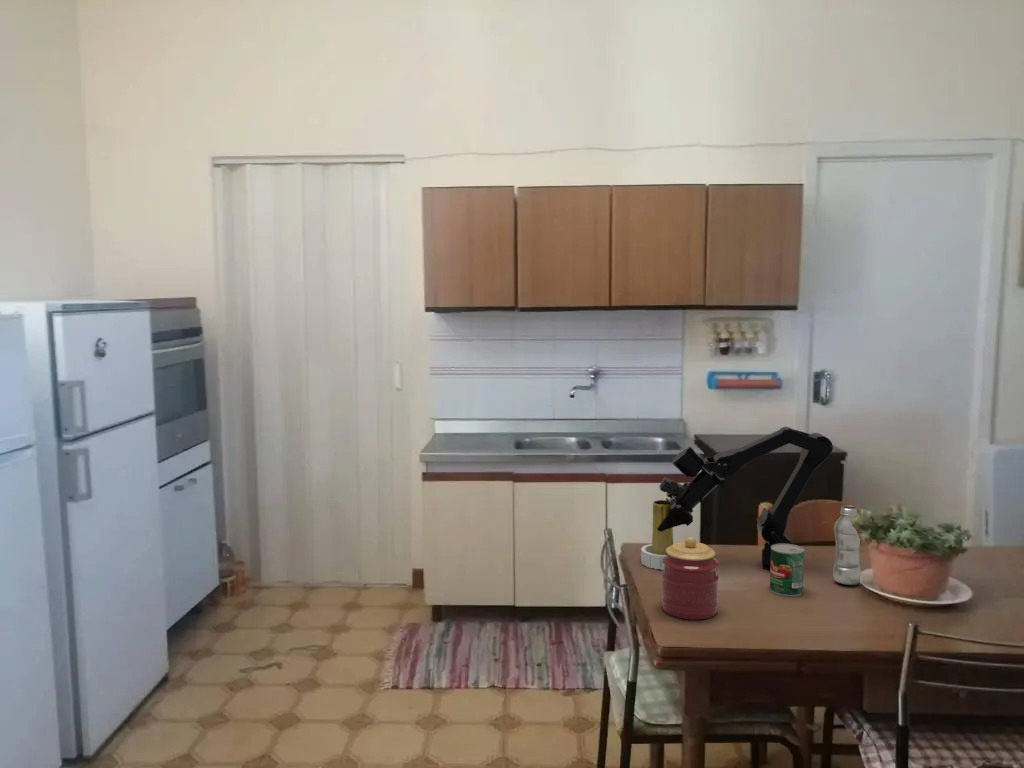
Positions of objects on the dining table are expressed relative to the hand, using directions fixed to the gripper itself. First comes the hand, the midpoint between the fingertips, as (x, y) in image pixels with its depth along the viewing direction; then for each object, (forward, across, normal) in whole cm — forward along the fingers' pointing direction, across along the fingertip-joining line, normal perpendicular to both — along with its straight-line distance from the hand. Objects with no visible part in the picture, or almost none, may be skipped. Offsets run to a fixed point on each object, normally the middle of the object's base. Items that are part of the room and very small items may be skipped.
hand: (657, 527), depth 212 cm
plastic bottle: (-26, +11, +41) cm, 50 cm away
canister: (+4, +33, +11) cm, 35 cm away
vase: (+4, 0, +6) cm, 7 cm away
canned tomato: (-14, +18, +29) cm, 37 cm away
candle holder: (+6, 0, +8) cm, 10 cm away
